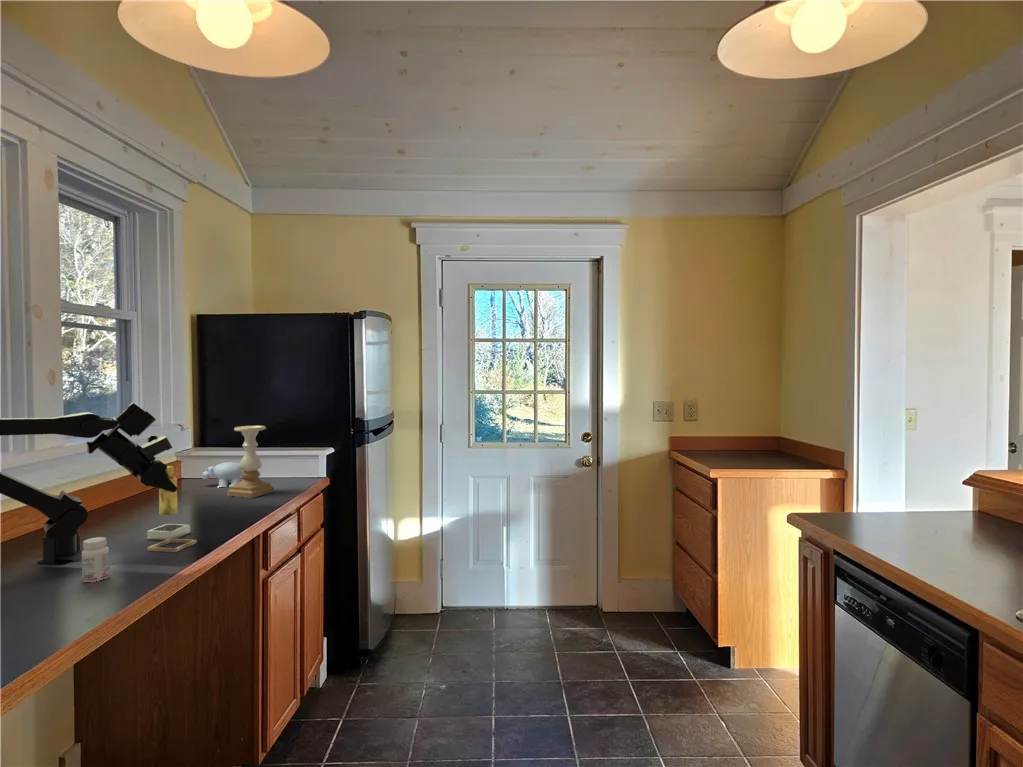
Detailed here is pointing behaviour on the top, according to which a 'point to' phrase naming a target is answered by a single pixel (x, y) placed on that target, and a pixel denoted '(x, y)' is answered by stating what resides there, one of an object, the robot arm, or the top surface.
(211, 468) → the hippopotamus toy
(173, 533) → the socket
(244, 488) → the candle holder
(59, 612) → the top surface
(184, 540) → the tan flat square frame
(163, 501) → the gold bottle
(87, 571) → the pill bottle
